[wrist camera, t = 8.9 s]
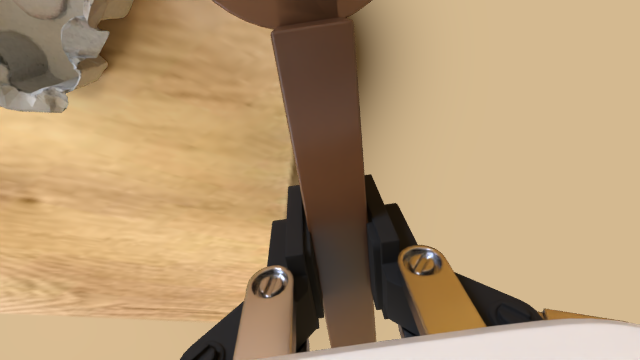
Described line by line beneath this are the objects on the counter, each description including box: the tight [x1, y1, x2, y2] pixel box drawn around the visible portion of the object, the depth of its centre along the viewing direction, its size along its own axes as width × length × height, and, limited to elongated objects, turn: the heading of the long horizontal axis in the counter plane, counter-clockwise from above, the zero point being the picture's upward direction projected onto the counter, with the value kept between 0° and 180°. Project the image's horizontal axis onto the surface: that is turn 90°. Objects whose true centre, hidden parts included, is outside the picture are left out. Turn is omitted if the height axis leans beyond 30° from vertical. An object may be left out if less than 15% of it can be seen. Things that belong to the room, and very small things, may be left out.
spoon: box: [212, 0, 376, 348], centre depth 10 cm, size 20×6×3 cm, turn 8°
